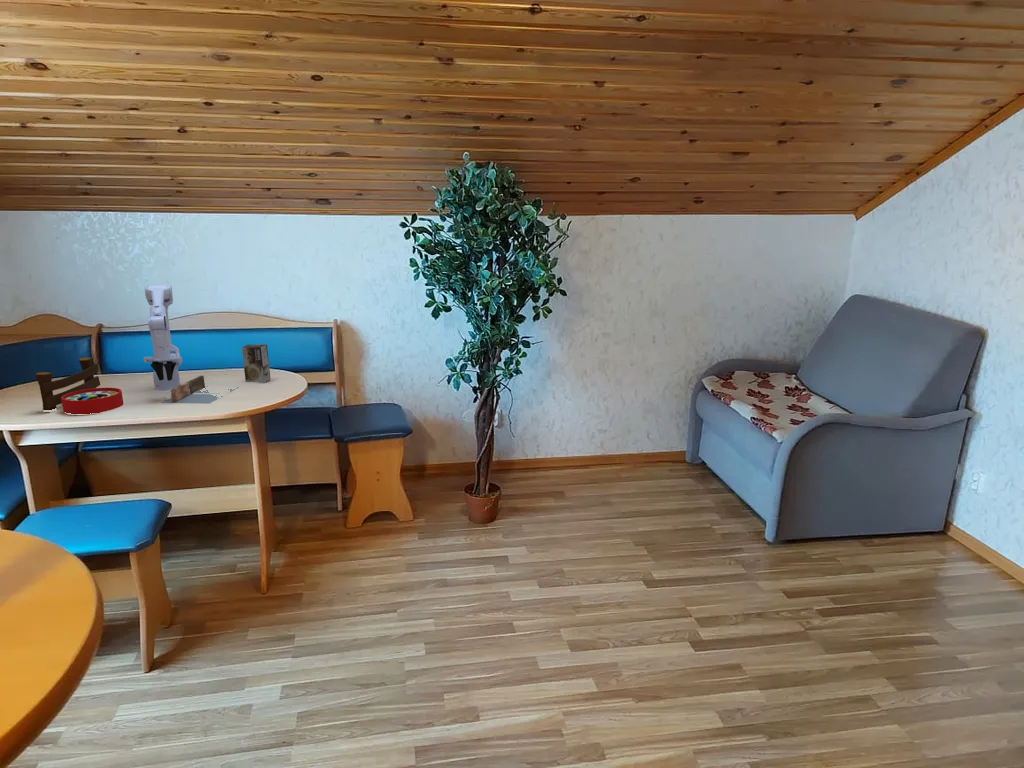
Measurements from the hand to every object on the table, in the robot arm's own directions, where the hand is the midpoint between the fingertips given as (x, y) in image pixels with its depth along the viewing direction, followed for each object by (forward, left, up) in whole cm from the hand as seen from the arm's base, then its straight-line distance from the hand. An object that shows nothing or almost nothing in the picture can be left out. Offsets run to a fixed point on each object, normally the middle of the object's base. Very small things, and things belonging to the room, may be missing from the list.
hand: (165, 380), depth 270 cm
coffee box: (+22, +33, -9) cm, 41 cm away
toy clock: (-23, -11, -9) cm, 27 cm away
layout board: (+10, +8, -8) cm, 15 cm away
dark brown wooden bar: (+5, +14, -8) cm, 17 cm away
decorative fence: (-38, -3, -9) cm, 39 cm away
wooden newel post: (+5, +2, -8) cm, 9 cm away
